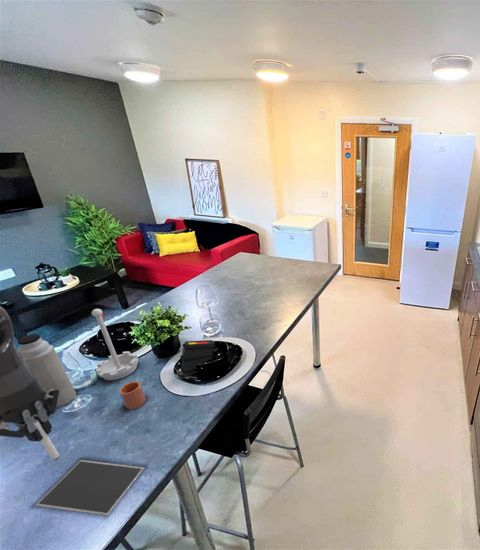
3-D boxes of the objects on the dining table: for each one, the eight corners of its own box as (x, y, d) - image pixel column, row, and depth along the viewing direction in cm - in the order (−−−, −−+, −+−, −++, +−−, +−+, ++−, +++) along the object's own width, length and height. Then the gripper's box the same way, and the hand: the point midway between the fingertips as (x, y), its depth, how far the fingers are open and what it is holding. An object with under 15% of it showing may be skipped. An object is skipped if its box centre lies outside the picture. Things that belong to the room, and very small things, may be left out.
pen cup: (137, 411, 102) (130, 394, 99) (122, 409, 102) (115, 393, 99) (150, 398, 107) (144, 382, 104) (135, 397, 108) (129, 380, 104)
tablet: (108, 517, 73) (106, 515, 73) (36, 507, 75) (34, 505, 74) (145, 469, 84) (144, 467, 84) (81, 461, 86) (80, 459, 85)
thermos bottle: (47, 399, 105) (12, 336, 94) (77, 389, 110) (47, 327, 98) (45, 414, 100) (7, 348, 88) (76, 402, 104) (44, 339, 93)
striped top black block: (173, 375, 116) (183, 341, 115) (206, 371, 126) (216, 339, 126) (176, 380, 114) (187, 345, 113) (210, 375, 124) (220, 343, 123)
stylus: (56, 462, 75) (33, 424, 70) (51, 461, 75) (28, 424, 70) (62, 456, 77) (39, 419, 71) (57, 456, 77) (34, 419, 71)
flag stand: (138, 376, 117) (115, 313, 104) (96, 388, 111) (66, 322, 98) (142, 357, 127) (121, 298, 115) (103, 367, 121) (77, 305, 109)
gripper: (29, 362, 72) (57, 412, 79) (-47, 407, 59) (-6, 461, 66) (57, 365, 71) (82, 414, 78) (-14, 410, 59) (24, 465, 66)
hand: (42, 436), depth 72 cm, fingers closed on stylus, 1 cm apart
